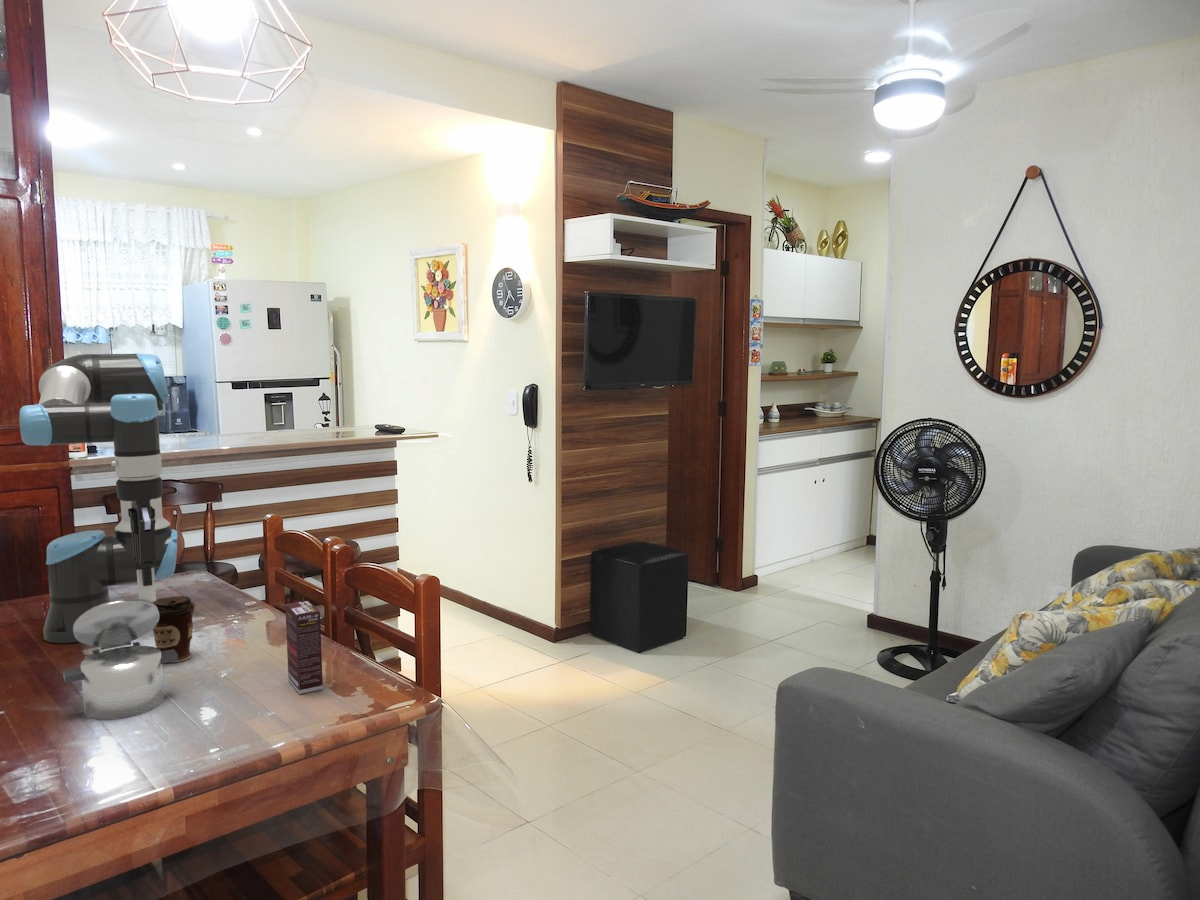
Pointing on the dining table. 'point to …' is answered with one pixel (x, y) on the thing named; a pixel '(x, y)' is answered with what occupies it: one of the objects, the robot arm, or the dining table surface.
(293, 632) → the supplement box
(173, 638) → the coffee cup
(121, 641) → the lid
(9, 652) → the dining table surface
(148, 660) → the pot
